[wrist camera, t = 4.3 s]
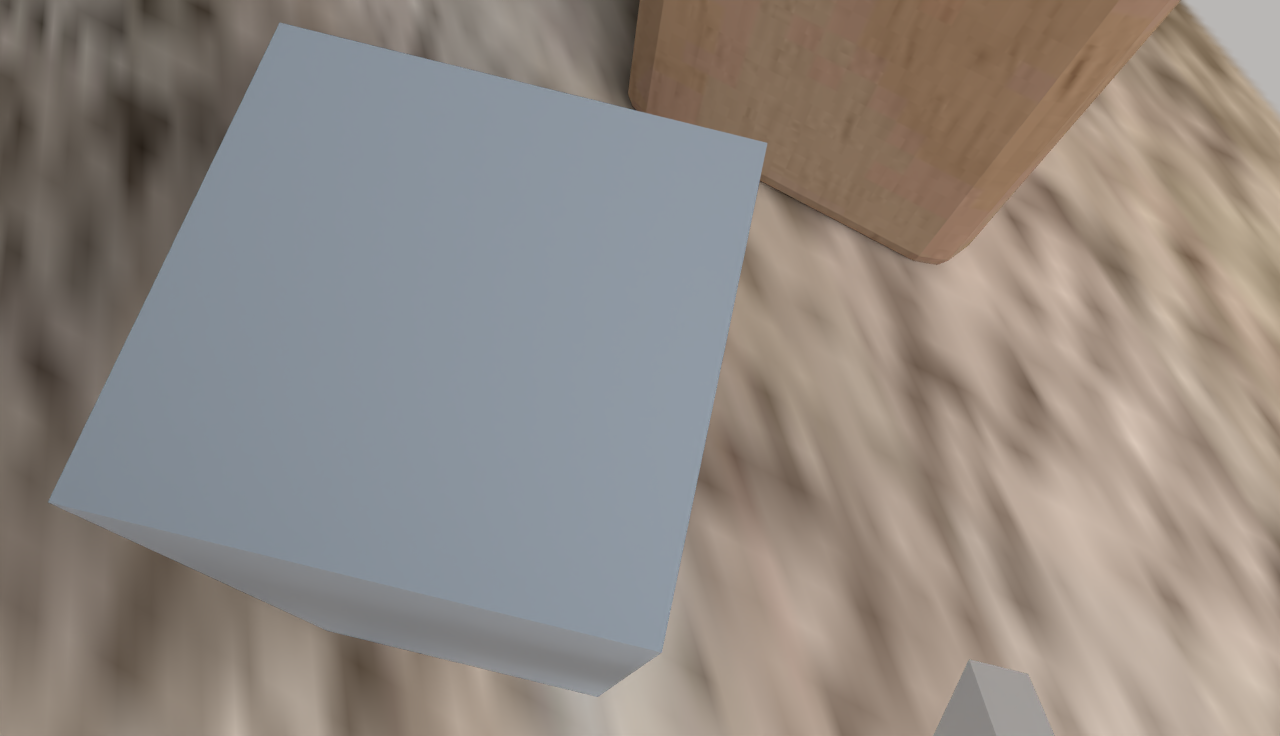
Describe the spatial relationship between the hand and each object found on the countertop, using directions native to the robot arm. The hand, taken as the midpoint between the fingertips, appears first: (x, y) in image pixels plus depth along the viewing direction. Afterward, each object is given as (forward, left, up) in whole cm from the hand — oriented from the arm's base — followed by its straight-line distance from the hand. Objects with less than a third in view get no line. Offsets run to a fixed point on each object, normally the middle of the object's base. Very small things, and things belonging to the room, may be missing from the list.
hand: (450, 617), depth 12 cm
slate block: (-1, +3, -9) cm, 9 cm away
